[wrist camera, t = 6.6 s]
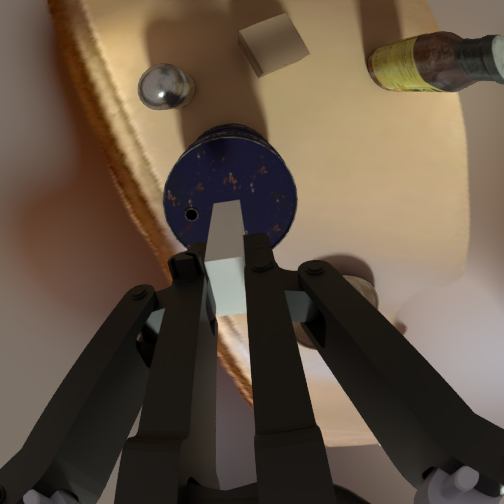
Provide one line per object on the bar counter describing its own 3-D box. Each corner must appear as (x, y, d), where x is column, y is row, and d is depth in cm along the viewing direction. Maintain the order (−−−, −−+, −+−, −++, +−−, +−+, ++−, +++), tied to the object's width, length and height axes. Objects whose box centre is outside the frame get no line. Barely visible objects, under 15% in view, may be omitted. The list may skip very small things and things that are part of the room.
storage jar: (262, 113, 31) (284, 120, 18) (280, 191, 36) (309, 247, 23) (178, 136, 32) (142, 159, 19) (202, 211, 36) (186, 277, 23)
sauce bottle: (385, 100, 30) (503, 118, 13) (355, 61, 28) (467, 40, 11) (415, 75, 29) (534, 82, 11) (388, 37, 26) (502, 13, 9)
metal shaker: (153, 76, 28) (128, 69, 20) (192, 67, 28) (178, 55, 20) (159, 112, 30) (136, 116, 22) (197, 104, 30) (186, 104, 22)
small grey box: (238, 43, 27) (239, 30, 22) (277, 27, 26) (286, 12, 21) (258, 78, 29) (263, 72, 24) (297, 61, 28) (310, 53, 23)
